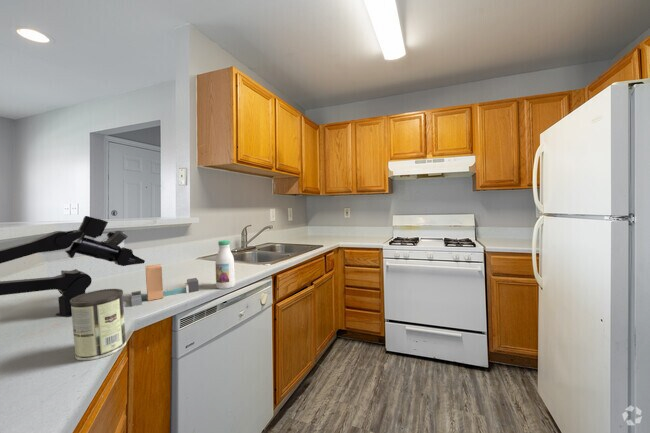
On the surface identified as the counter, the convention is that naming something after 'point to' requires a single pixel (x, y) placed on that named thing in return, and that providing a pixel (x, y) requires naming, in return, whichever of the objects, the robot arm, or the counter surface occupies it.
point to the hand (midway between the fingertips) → (139, 260)
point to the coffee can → (98, 323)
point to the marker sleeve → (154, 281)
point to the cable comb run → (189, 287)
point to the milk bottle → (225, 266)
